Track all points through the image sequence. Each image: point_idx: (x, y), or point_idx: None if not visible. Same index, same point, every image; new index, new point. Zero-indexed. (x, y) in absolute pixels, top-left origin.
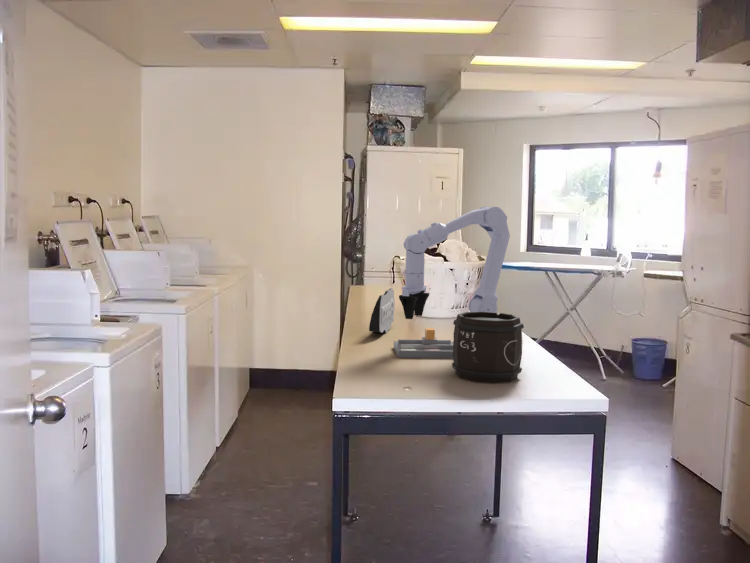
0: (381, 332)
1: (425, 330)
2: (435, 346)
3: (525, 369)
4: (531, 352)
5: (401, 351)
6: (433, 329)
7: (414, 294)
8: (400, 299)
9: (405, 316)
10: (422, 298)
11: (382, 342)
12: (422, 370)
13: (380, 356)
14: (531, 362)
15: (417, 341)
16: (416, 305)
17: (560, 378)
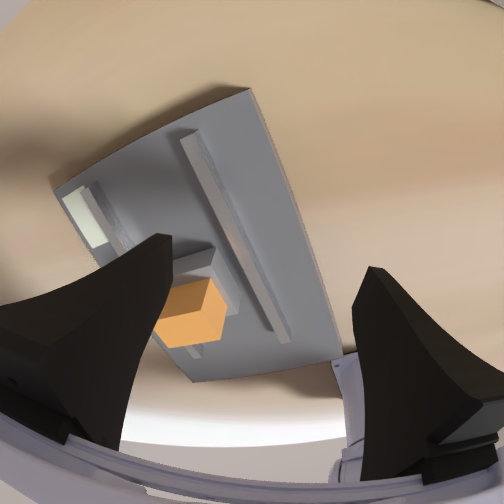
0: (496, 2)
1: (188, 306)
2: None
3: (158, 418)
4: (328, 430)
5: (60, 200)
6: (184, 343)
7: (436, 427)
8: (4, 315)
9: (146, 241)
10: (376, 438)
11: (367, 7)
12: (13, 276)
13: (54, 114)
14: (224, 430)
15: (225, 227)
16: (392, 337)
17: (136, 433)
